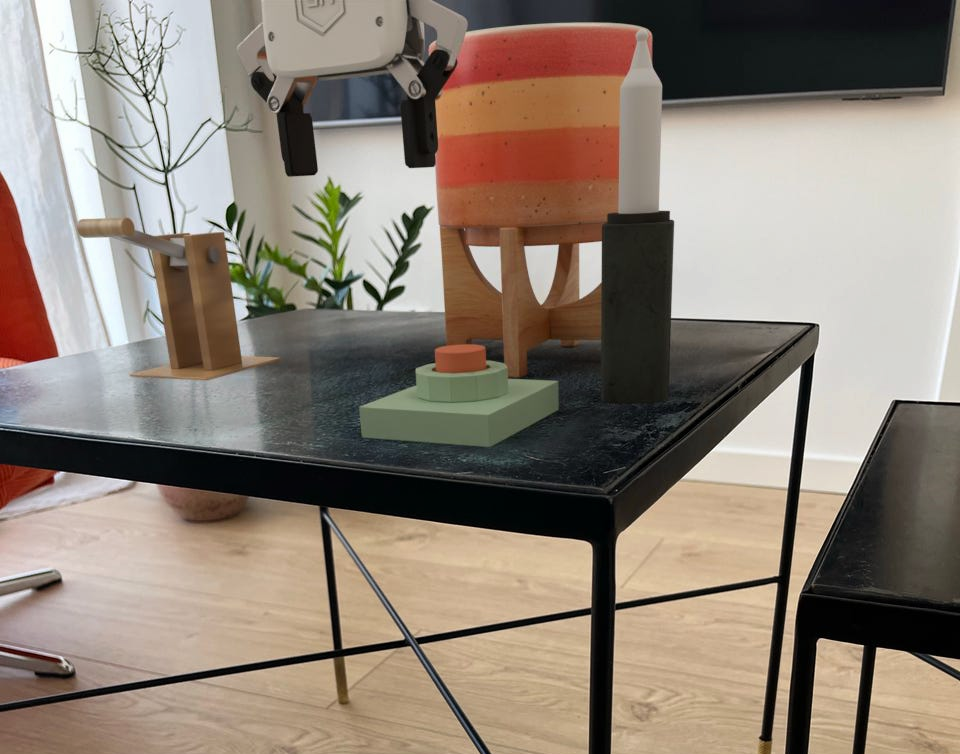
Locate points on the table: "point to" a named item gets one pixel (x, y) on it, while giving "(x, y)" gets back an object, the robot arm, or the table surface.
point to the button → (460, 358)
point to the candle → (637, 250)
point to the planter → (528, 175)
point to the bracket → (199, 312)
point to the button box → (460, 407)
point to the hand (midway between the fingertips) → (360, 171)
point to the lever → (134, 238)
